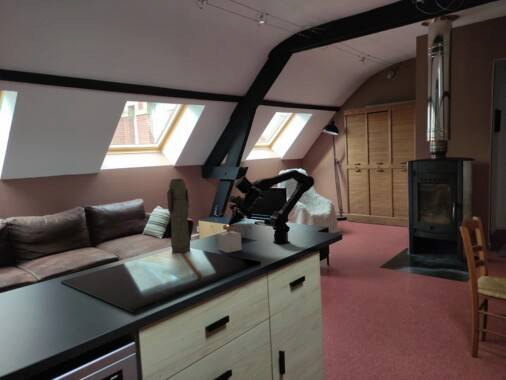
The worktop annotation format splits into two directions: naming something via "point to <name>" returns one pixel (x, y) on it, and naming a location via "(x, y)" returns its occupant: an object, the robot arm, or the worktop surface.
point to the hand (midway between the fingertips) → (228, 224)
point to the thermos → (179, 215)
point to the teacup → (241, 229)
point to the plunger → (228, 227)
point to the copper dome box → (229, 241)
